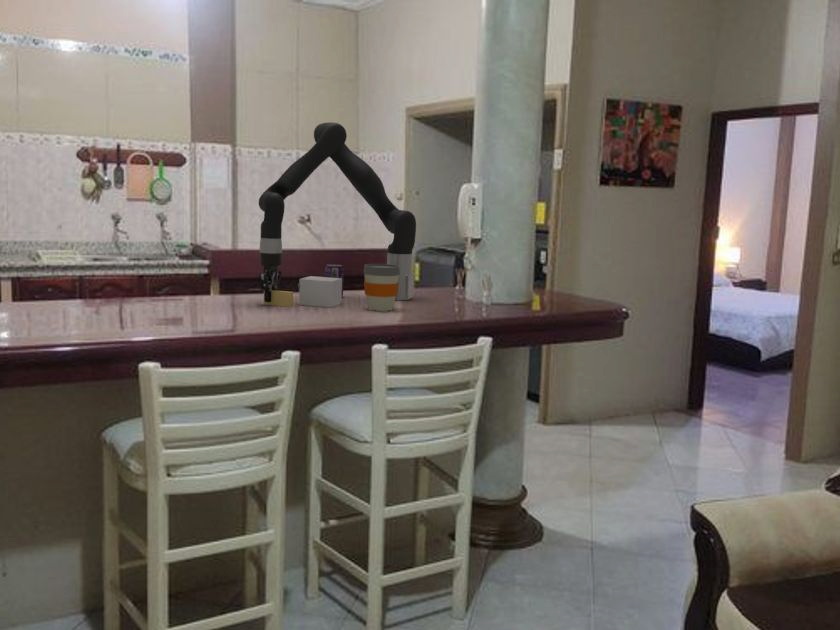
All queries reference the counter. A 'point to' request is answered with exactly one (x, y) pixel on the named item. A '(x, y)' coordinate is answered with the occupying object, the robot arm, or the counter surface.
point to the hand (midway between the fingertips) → (270, 300)
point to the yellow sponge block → (280, 298)
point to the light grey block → (320, 291)
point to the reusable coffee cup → (381, 286)
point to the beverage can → (334, 272)
